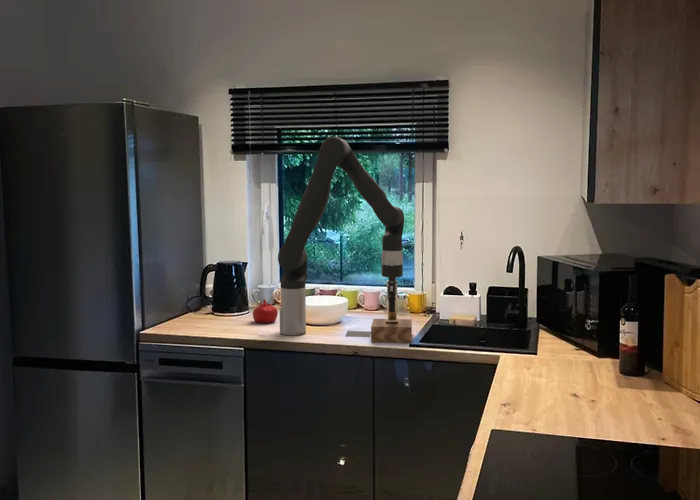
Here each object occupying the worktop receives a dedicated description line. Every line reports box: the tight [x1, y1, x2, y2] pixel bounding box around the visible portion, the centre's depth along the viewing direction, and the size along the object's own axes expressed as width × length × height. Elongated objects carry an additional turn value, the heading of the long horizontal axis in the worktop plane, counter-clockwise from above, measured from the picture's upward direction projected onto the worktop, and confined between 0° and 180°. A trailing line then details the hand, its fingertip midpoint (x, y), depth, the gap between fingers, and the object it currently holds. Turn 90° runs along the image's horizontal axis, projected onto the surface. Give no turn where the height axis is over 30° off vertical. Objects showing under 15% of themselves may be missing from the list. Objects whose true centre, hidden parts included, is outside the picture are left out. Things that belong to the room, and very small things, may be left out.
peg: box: [387, 294, 398, 320], centre depth 238 cm, size 3×3×10 cm
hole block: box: [370, 318, 413, 344], centre depth 239 cm, size 14×14×6 cm
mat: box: [344, 330, 371, 338], centre depth 246 cm, size 9×9×1 cm
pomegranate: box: [252, 298, 279, 324], centre depth 270 cm, size 10×10×9 cm
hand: (392, 310), depth 238 cm, fingers closed on peg, 3 cm apart
